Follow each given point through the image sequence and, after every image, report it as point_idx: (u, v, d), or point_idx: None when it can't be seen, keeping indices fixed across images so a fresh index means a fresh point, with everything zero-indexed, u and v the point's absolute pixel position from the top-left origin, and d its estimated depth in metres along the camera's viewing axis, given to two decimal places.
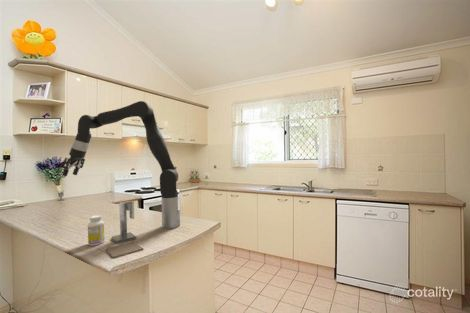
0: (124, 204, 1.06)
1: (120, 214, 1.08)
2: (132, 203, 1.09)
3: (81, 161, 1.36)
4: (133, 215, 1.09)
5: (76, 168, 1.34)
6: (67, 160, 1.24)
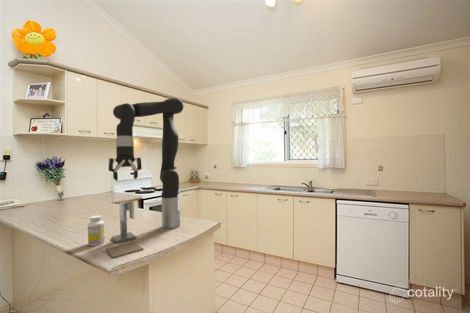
0: (124, 204, 1.06)
1: (120, 214, 1.08)
2: (132, 203, 1.09)
3: None
4: (133, 215, 1.09)
5: (116, 171, 1.06)
6: None
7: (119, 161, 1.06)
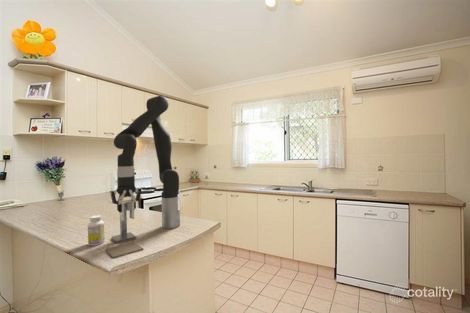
0: (124, 204, 1.06)
1: (120, 214, 1.08)
2: (132, 203, 1.09)
3: None
4: (133, 215, 1.09)
5: None
6: None
7: (120, 193, 1.06)
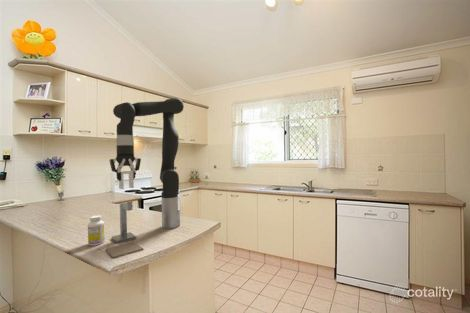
0: (123, 172, 1.06)
1: (119, 183, 1.08)
2: (131, 172, 1.09)
3: (113, 162, 1.06)
4: (132, 184, 1.09)
5: (119, 172, 1.07)
6: None
7: (119, 161, 1.06)
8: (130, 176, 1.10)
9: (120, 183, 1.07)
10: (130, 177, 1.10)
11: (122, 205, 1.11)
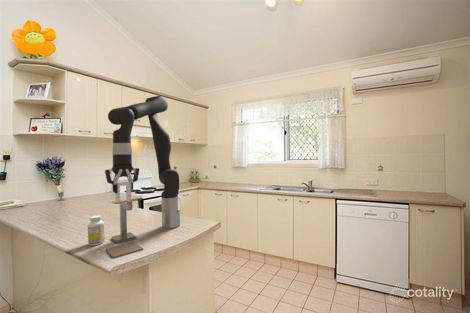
0: (120, 184, 0.97)
1: (116, 195, 0.98)
2: (129, 184, 1.00)
3: None
4: (130, 197, 1.00)
5: None
6: None
7: (116, 172, 0.97)
8: (127, 188, 1.01)
9: (116, 196, 0.98)
10: (127, 189, 1.00)
11: (122, 205, 1.11)
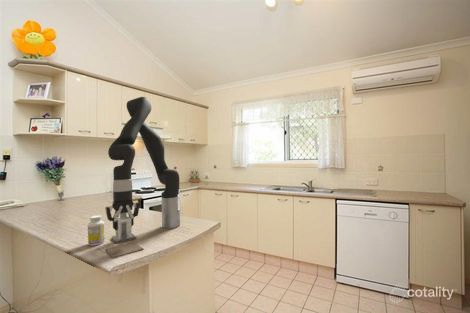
0: (120, 221, 0.97)
1: (116, 232, 0.98)
2: (129, 219, 0.99)
3: None
4: (130, 233, 1.00)
5: None
6: None
7: (116, 208, 0.97)
8: (127, 223, 1.01)
9: (117, 232, 0.97)
10: (128, 224, 1.00)
11: None
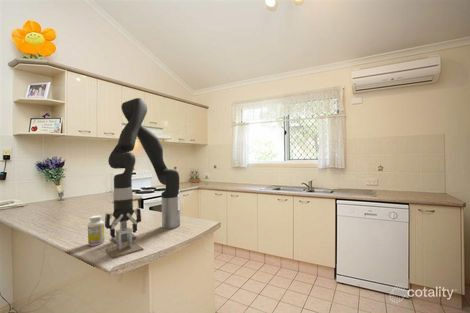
0: (121, 233, 0.97)
1: (117, 243, 0.98)
2: (130, 231, 1.00)
3: None
4: (131, 244, 1.00)
5: (113, 228, 0.97)
6: None
7: (117, 216, 0.97)
8: (128, 234, 1.01)
9: (117, 244, 0.97)
10: (128, 236, 1.00)
11: None
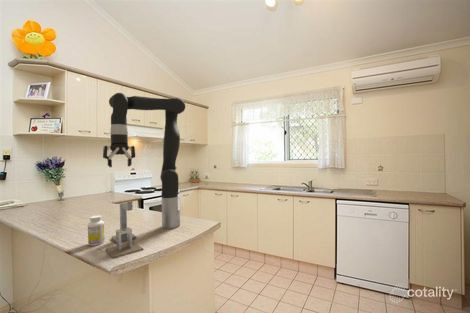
0: (121, 233, 0.97)
1: (117, 243, 0.98)
2: (130, 231, 1.00)
3: (107, 149, 1.10)
4: (131, 244, 1.00)
5: (110, 159, 1.10)
6: None
7: (113, 149, 1.10)
8: (128, 234, 1.01)
9: (117, 244, 0.97)
10: (128, 236, 1.00)
11: (122, 205, 1.11)
